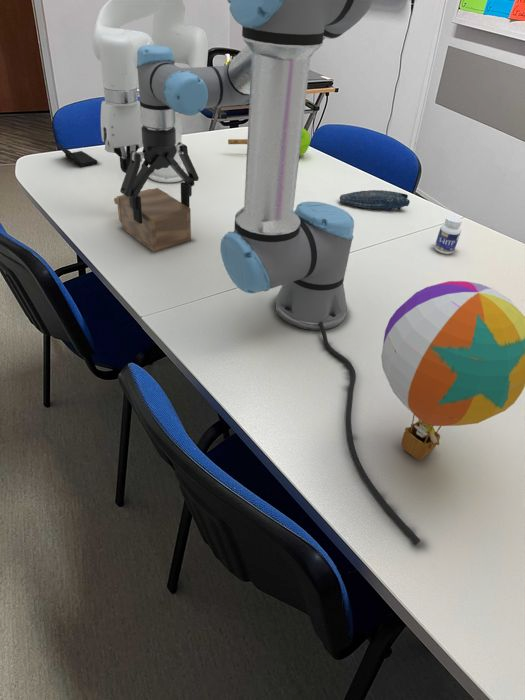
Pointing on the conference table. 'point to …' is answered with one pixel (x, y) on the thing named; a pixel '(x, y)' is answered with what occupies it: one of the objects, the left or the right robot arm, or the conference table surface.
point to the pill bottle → (448, 235)
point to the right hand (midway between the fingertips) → (162, 215)
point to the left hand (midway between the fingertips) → (127, 172)
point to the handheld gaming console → (78, 156)
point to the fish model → (376, 199)
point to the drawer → (117, 201)
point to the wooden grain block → (157, 220)
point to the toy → (453, 358)
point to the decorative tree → (303, 147)
